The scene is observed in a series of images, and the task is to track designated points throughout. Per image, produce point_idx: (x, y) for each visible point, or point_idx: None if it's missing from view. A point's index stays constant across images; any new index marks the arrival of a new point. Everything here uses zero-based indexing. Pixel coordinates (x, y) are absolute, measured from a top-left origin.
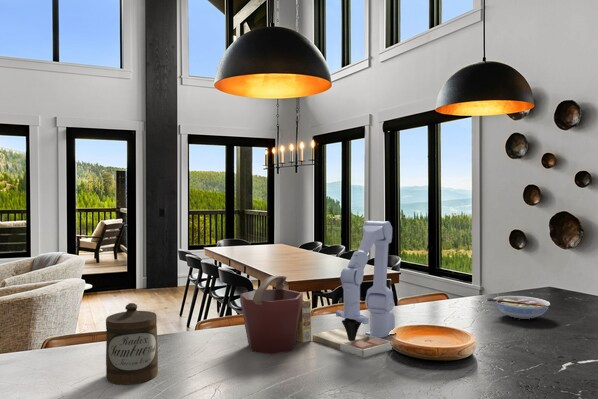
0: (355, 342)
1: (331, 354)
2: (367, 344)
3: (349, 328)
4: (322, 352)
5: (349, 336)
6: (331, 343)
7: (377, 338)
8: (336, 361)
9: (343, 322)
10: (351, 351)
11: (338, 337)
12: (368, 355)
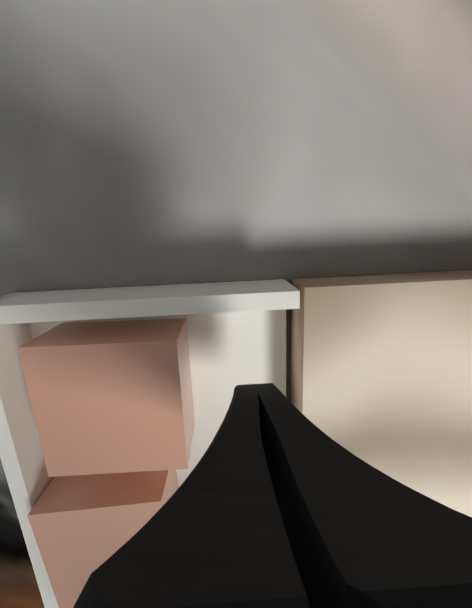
0: None
1: (238, 128)
2: (67, 446)
3: (230, 483)
4: (334, 93)
5: (251, 403)
6: (412, 278)
7: None
8: (41, 16)
9: (458, 559)
10: (142, 289)
11: (456, 405)
12: None
